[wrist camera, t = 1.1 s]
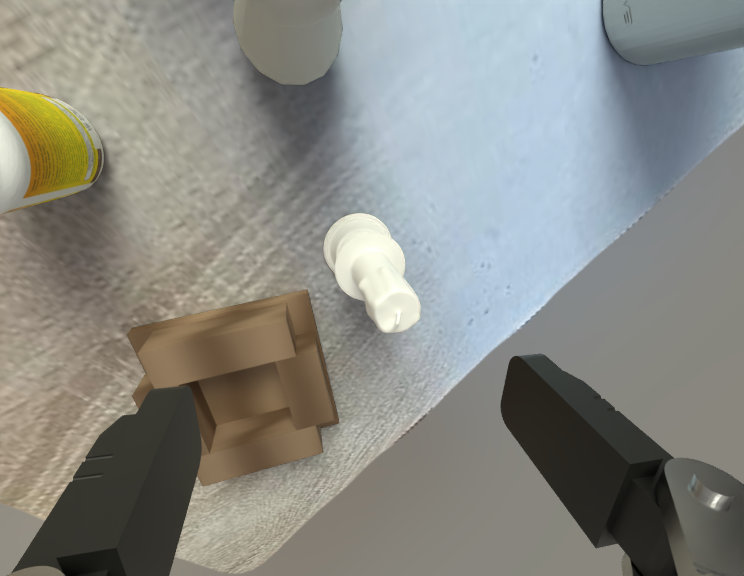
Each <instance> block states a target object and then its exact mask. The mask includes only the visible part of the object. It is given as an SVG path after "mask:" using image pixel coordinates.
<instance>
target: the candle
mask: <svg viewBox="0 0 744 576" xmlns="http://www.w3.org/2000/svg"><path fill="white" fill-rule="evenodd" d="M323 250H324V257H325V260H326V262H327V264H328V266H329V267H330V269H331V270H332V271H333V272H334V273H335V276H336V280H337V282H338V284H339V286H340V287H341V289H342V290H343V291H344V292H345V293H346V294H348V295H349V296H351V297H353V298H355V299H358V300H363V301H365V305H366V311H367V314H368V315H369V317H370V318H371V319H373V321H374V322H375V324H376V326H377V328H378V329H379V330H380V331H382V332H384V333H398V332H403V331H405V330H407V329H409V328H410V327H412V326H413V325H414V324H416V323H417V322H418V321H419V319H420V310H421V306H420V301H419V299H418V297H417V295H416V294H415V292H414V291H413V289H412V288H411V287H410V285H409V284H408V283H407V281H406V280H405V279H404V278H403V275H404V271H405V258H404V254H403V252H402V250H401V248H400V246H399V245H398V244H397V243H396V242H395V241H394V240H393V239H392V238H391V235H390V233H389V230H388V229H387V227H386V226H385V225H384V223H383V222H381V221H380V220H379V219H377V218H376V217H374V216H371V215H368V214H363V213H356V214H350V215H347V216H345V217H343V218H341V219H339V220H338V221H337V222H335V223H334V224H333V225H332V227H331V228H330V229H329V231H328V233H327V235H326V237H325V240H324V247H323Z"/></svg>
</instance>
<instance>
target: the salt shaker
mask: <svg viewBox="0 0 744 576" xmlns="http://www.w3.org/2000/svg"><path fill="white" fill-rule="evenodd" d="M341 1H342V0H234V12H233V23H234V27H235V30H236V34H237V37H238V40H239V44H240V47H241V50H242V51H243V53H244V54H245V55H246V56H247V57H248V59H249V60H250V61H251V62H252V64H253V65H254V66H255V67H256V69H257V70H258V71H259V72H261V73H262V74H264V75H266V76H268V77H269V78H271V79H273V80H274V81H276V82H278V83H280V84H282V85H305V84H307V83H309V82H311V81H313V80H315V79H317V78H320V77H322V76H324V75H325V74H326V72H327V71H328V69H329V68H330V66H331V65H332V63H333V61H334V60H335V58H336V57H337V55H338V51H339V46H340V41H341V36H342V31H343V27H342V19H341V12H340V2H341Z"/></svg>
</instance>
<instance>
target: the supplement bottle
mask: <svg viewBox="0 0 744 576" xmlns="http://www.w3.org/2000/svg"><path fill="white" fill-rule="evenodd" d="M103 163H104V152H103V147H102V144H101V141H100V138H99V136H98V134H97V133H96V131H95V129H94V128H93V126H92V125H91V124H90V122H89V121H88V120H87V119H86V118H85V117H84V116H83V115H82V114H81V113H80V112H78V111H77V110H76V109H74V108H73V107H71V106H70V105H68V104H66V103H65V102H63V101H60V100H58V99H56V98H53V97H50V96H47V95H43V94H39V93H32V92H26V91H20V90H14V89H8V88H2V87H0V215H1V214H5V213H9V212H12V211H16V210H19V209H23V208H26V207H30V206H34V205H38V204H41V203H45V202H48V201H52V200H56V199H59V198H62V197H66V196H69V195H73V194H76V193H79V192H81V191H83V190H85V189H87V188H89V187H90V186H91V185H92V184H93V183H94V182H95V181H96V180H97V179H98V177H99V175H100V173H101V171H102V168H103Z"/></svg>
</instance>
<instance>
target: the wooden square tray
mask: <svg viewBox="0 0 744 576" xmlns="http://www.w3.org/2000/svg"><path fill="white" fill-rule="evenodd" d="M127 336H128V338H129V340H130V342H131V344H132V346H133V348H134V350H135V352H136V354H137V357H138V359H139V361H140V363H141V365H142V367H143V369H144V371H145V373H146V374H145V375H144V377H143V379H142V380H141V382H140V384H139V385H138V387H137V389H136V390H135V392H134V394H133V395H132V397H133V399H134V401H135V403H136V405H137V406H138V408H140V406H141V404H142V402H143V401H144V399H145V397H146V395H147V394H148V392H149V391H150V390H151V389H156V388H167V387H178V386H189V387H190V388H191V390H192V393H193V398H194V404H195V409H196V414H197V419H198V424H199V429H200V435H201V443H202V451H201V461H200V466H199V470H198V473H197V476H198V478H199V480H200V482H201V484H202V486H206V485H210V484H214V483H217V482H221V481H224V480H228V479H231V478H235V477H238V476H242V475H246V474H249V473H253V472H256V471H260V470H263V469H267V468H271V467H274V466H278V465H281V464H285V463H288V462H292V461H295V460H299V459H303V458H306V457H310V456H313V455H317V454H320V453H323V447H322V438H321V429H320V428H323V427H327V426H330V425H334V424H338V423H339V419H338V414H337V410H336V406H335V402H334V398H333V394H332V389H331V385H330V381H329V377H328V373H327V369H326V365H325V360H324V356H323V352H322V348H321V344H320V340H319V336H318V332H317V327H316V323H315V319H314V315H313V311H312V307H311V303H310V298H309V294H308V290H303V291H298V292H294V293H289V294H285V295H280V296H276V297H271V298H266V299H262V300H257V301H253V302H248V303H244V304H239V305H234V306H230V307H225V308H221V309H216V310H212V311H207V312H202V313H198V314H193V315H189V316H184V317H180V318H175V319H170V320H166V321H161V322H157V323H152V324H148V325H143V326H138V327H134V328H132V329H131V330H130V331H129V332H128V334H127Z"/></svg>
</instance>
